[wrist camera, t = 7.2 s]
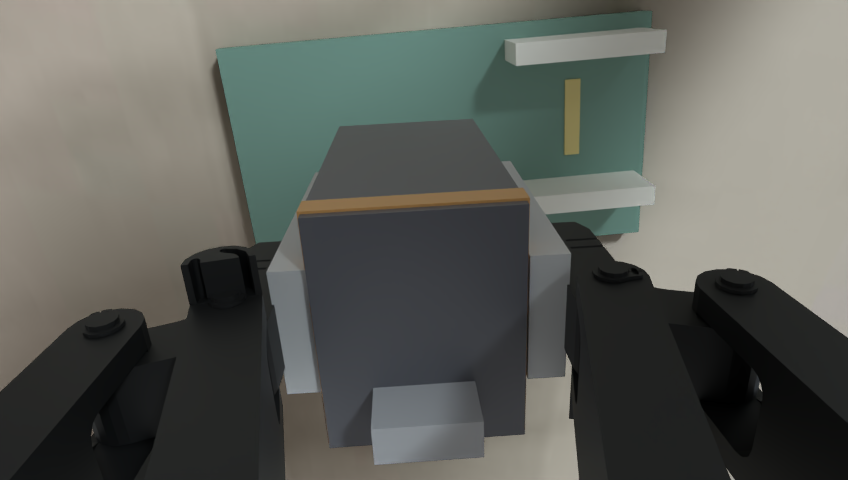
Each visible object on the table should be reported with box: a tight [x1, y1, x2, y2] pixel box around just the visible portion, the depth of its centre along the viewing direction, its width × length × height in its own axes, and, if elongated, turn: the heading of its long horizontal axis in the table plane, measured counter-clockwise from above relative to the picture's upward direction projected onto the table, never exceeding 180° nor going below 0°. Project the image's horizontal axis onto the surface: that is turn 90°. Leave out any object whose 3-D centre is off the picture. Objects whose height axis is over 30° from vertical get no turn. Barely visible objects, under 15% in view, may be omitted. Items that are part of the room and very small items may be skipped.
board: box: [216, 11, 667, 244], centre depth 31 cm, size 12×22×4 cm, turn 95°
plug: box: [296, 119, 530, 465], centre depth 14 cm, size 5×4×9 cm
